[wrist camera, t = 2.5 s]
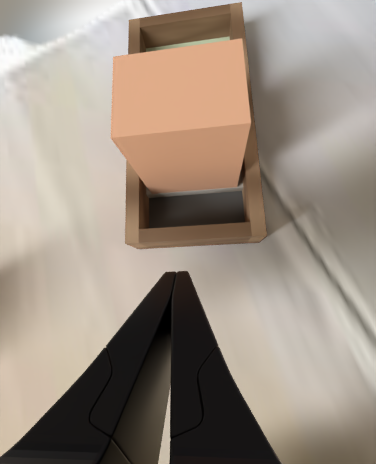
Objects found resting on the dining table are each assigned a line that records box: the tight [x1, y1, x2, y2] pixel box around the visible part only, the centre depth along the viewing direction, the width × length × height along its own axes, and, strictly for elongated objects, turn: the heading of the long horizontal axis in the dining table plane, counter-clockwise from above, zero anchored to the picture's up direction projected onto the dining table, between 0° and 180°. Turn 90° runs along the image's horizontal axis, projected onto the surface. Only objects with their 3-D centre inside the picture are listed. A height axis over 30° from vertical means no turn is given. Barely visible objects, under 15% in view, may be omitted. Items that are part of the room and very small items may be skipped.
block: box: [111, 38, 251, 194], centre depth 16 cm, size 5×7×8 cm
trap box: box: [125, 2, 267, 249], centre depth 20 cm, size 20×10×3 cm, turn 3°
